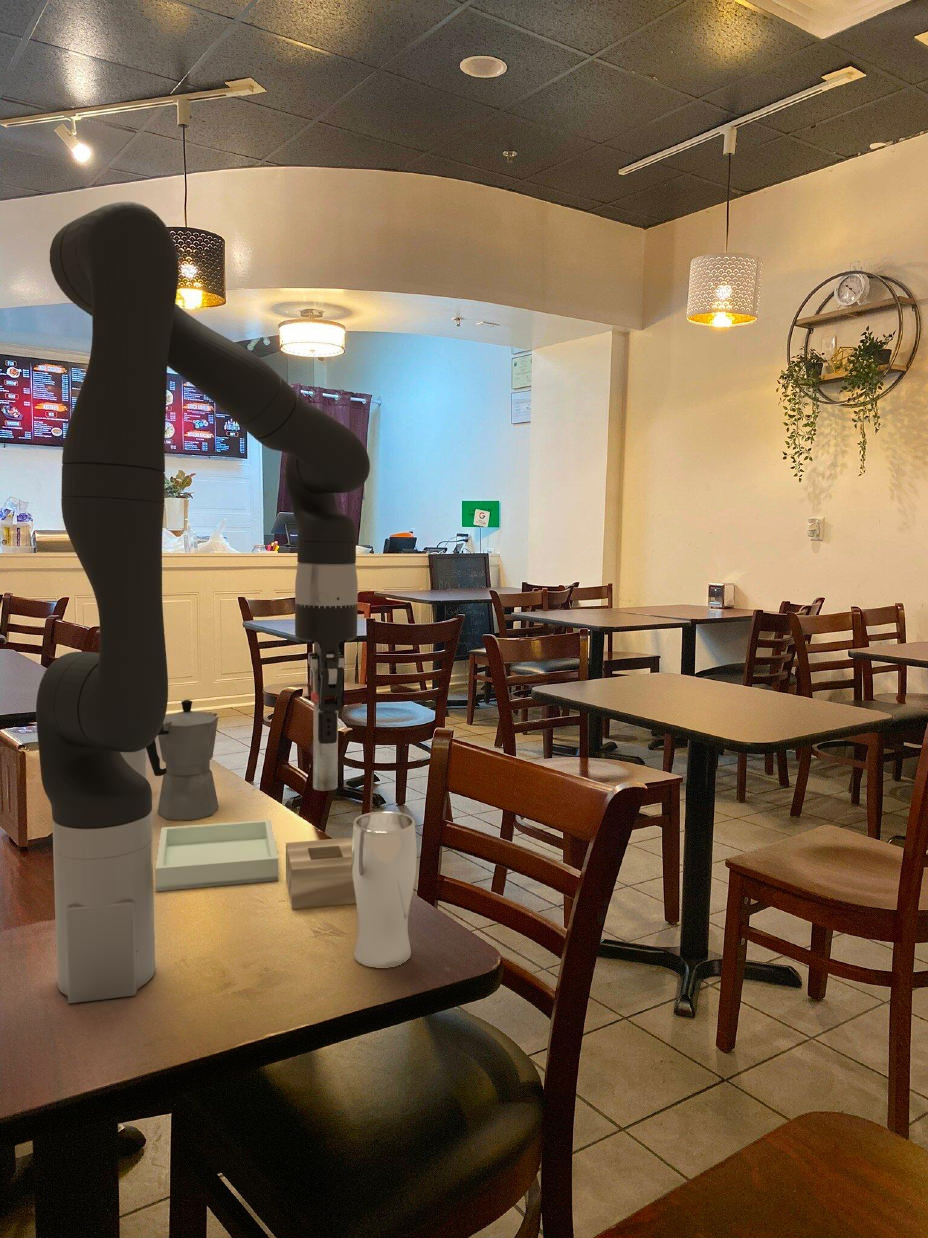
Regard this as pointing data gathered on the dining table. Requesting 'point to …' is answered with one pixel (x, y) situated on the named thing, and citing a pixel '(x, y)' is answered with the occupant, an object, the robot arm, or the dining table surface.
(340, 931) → the dining table surface
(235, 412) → the robot arm
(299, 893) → the block
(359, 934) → the beer glass
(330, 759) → the pin
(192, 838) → the tray
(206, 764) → the coffeepot
